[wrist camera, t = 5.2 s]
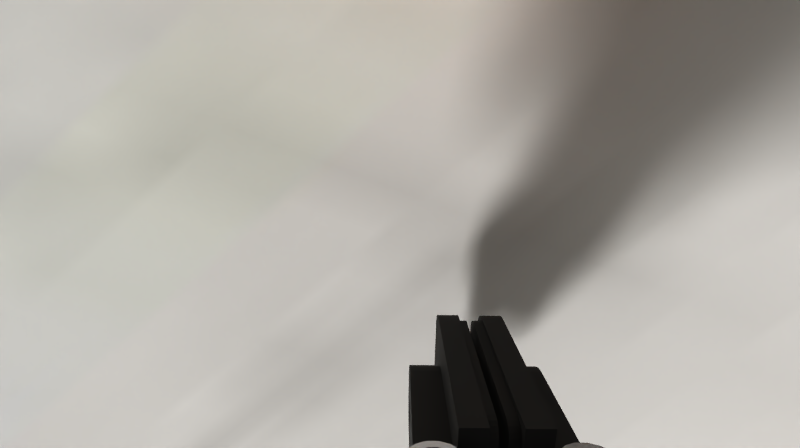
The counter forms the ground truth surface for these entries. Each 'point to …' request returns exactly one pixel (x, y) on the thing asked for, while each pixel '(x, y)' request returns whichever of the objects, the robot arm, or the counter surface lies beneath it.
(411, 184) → the counter surface
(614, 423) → the counter surface
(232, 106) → the counter surface
